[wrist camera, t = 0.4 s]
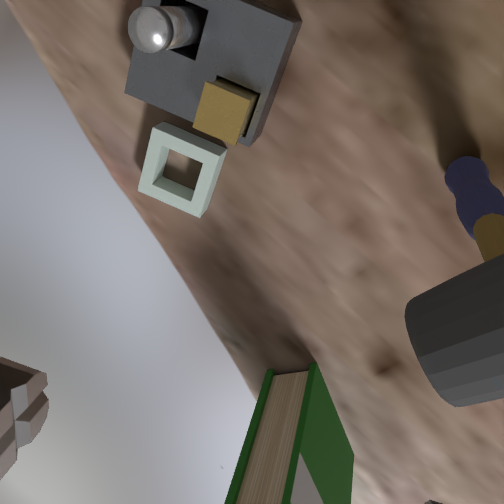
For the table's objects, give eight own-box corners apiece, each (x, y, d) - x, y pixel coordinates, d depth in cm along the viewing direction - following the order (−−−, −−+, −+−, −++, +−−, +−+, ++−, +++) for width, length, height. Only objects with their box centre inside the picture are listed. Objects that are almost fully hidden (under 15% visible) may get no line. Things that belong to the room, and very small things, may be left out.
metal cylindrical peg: (186, -1, 48) (131, -2, 37) (218, 13, 47) (172, 15, 37) (177, 35, 49) (123, 44, 39) (208, 48, 49) (161, 60, 39)
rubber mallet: (509, 104, 45) (678, 242, 19) (543, 169, 47) (738, 374, 21) (390, 172, 50) (396, 348, 25) (424, 227, 52) (463, 445, 27)
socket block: (171, -34, 47) (150, -38, 42) (302, 21, 46) (293, 23, 42) (145, 85, 53) (124, 92, 48) (260, 135, 52) (249, 147, 48)
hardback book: (267, 369, 67) (215, 531, 47) (316, 362, 65) (284, 530, 44) (307, 457, 74) (277, 634, 53) (354, 454, 71) (341, 639, 50)
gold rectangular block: (224, 73, 47) (205, 81, 42) (265, 90, 47) (250, 100, 42) (212, 114, 50) (192, 127, 44) (250, 130, 49) (235, 145, 44)
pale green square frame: (163, 121, 54) (152, 127, 51) (227, 149, 54) (219, 156, 51) (148, 182, 58) (137, 190, 56) (207, 208, 58) (199, 217, 55)
